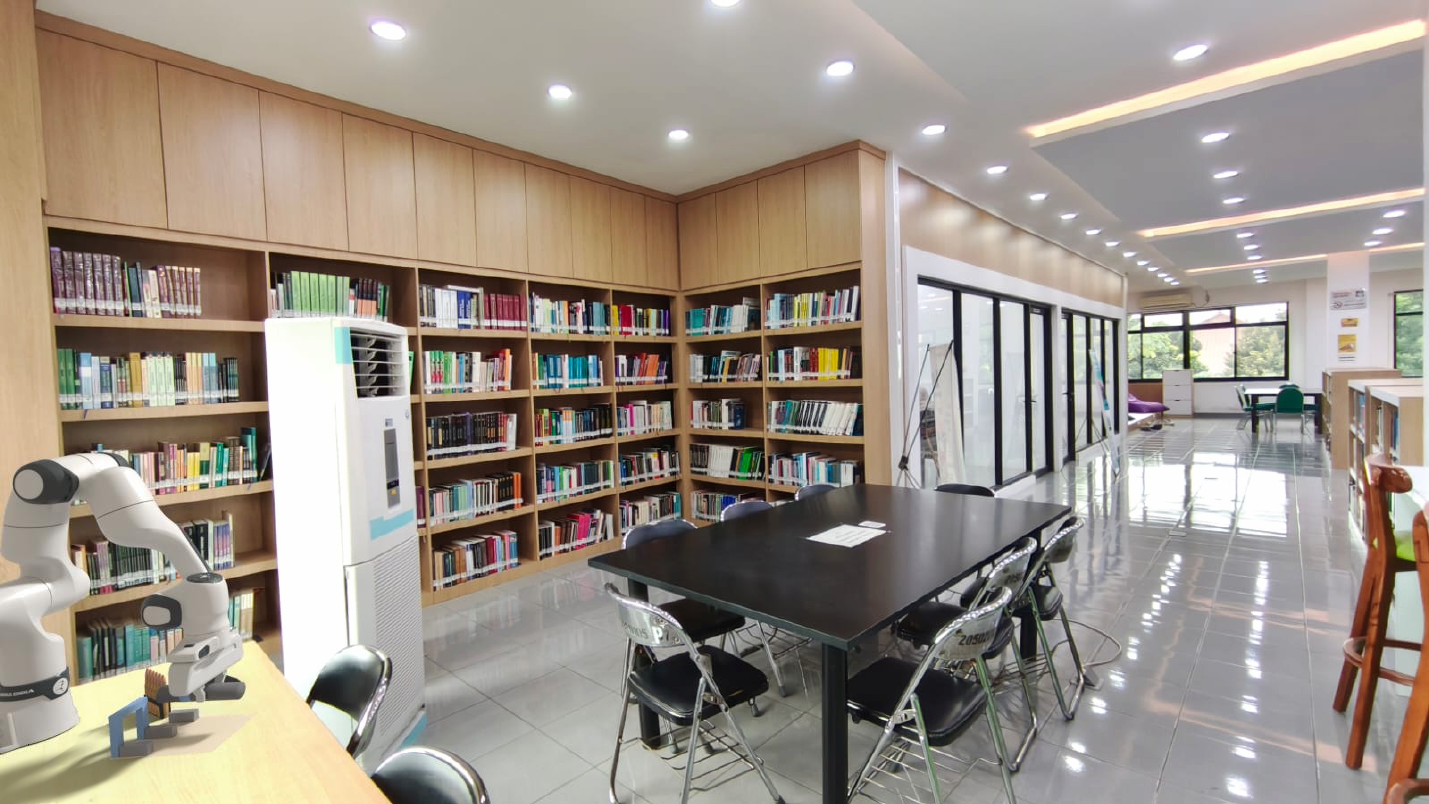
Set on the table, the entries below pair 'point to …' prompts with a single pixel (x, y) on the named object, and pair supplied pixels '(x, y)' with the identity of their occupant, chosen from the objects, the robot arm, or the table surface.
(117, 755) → the blue arch frame
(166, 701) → the gray banded cylinder
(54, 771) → the table surface
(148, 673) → the ammunition clip
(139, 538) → the robot arm
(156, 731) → the beige base board
